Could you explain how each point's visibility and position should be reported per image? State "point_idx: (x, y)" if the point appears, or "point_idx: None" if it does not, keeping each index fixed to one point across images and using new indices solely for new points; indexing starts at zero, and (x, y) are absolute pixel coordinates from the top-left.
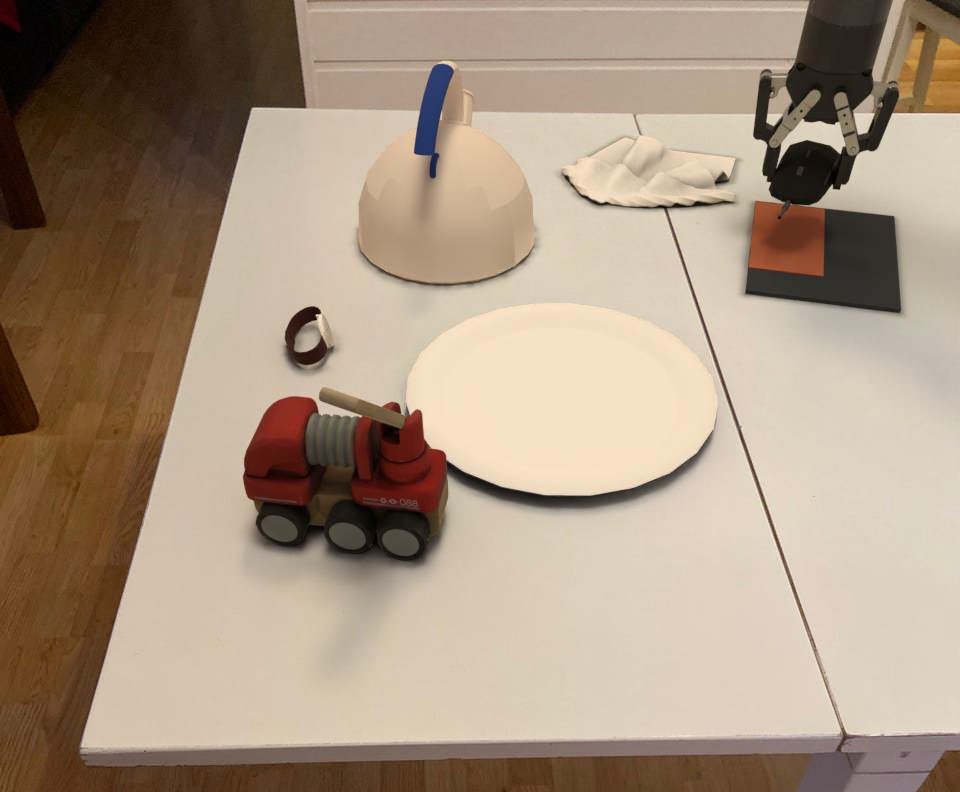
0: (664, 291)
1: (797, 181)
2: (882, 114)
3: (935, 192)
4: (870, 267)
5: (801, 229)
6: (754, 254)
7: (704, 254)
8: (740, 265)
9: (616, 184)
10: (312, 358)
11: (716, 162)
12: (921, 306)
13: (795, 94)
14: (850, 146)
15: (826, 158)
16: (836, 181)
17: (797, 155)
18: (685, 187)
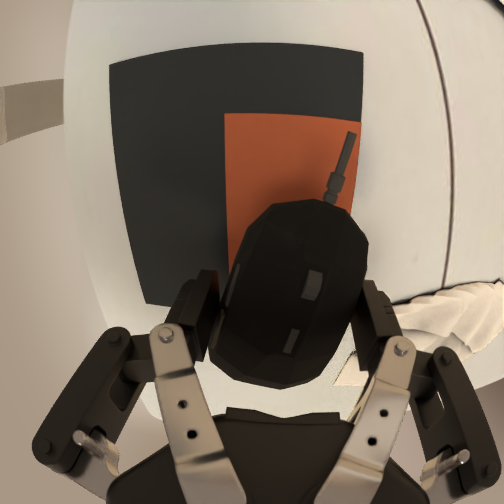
0: (470, 69)
1: (315, 253)
2: (76, 409)
3: None
4: (151, 165)
5: None
6: (350, 164)
7: (421, 172)
8: (370, 141)
9: (481, 313)
10: None
11: (356, 377)
12: (88, 95)
13: (399, 484)
14: (172, 343)
15: (240, 336)
16: (209, 279)
17: (315, 339)
18: (416, 325)
